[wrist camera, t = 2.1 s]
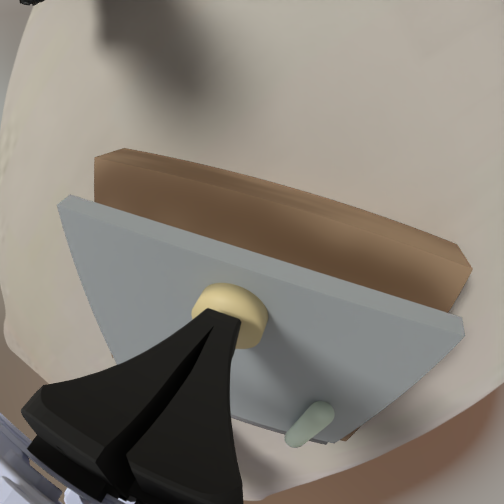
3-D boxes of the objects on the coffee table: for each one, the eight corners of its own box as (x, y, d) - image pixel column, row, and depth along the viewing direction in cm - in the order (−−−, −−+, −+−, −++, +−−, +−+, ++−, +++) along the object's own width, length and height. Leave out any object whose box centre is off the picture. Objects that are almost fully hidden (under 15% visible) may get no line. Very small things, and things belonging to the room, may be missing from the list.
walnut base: (348, 414, 25) (346, 441, 22) (128, 337, 28) (112, 357, 25) (457, 244, 16) (472, 269, 13) (124, 148, 19) (94, 157, 16)
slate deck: (332, 435, 22) (325, 463, 20) (124, 360, 25) (110, 383, 23) (462, 317, 11) (469, 368, 9) (70, 194, 13) (34, 223, 12)
